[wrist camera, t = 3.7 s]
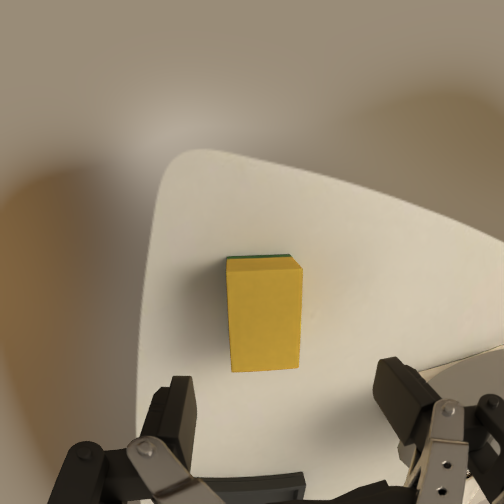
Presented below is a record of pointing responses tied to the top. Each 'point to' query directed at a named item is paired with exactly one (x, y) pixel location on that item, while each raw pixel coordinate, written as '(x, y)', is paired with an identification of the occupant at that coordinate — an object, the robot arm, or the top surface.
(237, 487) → the tray
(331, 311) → the top surface
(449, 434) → the robot arm
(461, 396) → the alarm clock
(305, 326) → the top surface
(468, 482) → the plate
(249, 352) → the sponge
